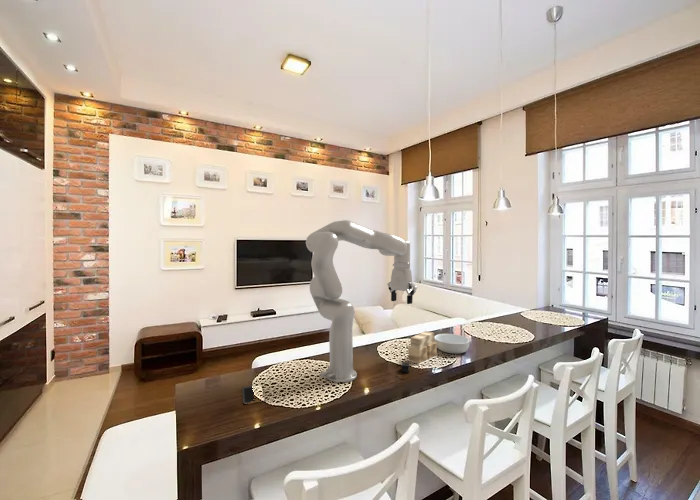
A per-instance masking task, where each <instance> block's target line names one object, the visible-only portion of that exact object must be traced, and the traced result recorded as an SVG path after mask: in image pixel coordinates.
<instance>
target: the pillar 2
mask: <svg viewBox="0 0 700 500" xmlns="http://www.w3.org/2000/svg"><path fill="white" fill-rule="evenodd" d="M426 347H427V358H429V359H428V360H431V359H430V358H432V357H434V358H436V357H438V356H437V355H438V353H437V351H438V350H437V349H438V348H437V343H435V342H434V343H432V344H430V345H428V346H426ZM435 356H436V357H435ZM432 359H433V358H432Z"/></svg>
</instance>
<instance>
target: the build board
mask: <svg viewBox="0 0 700 500" xmlns="http://www.w3.org/2000/svg"><path fill="white" fill-rule="evenodd" d="M438 356H439V355H438V354H437V356H435V357H432V358H430V359H429V358H427V360H426V361H424V362H422V363H417V362H414V361H411V360H409V358H408V359H407V361H409V362H412V363H415V364H418V365H421V364H423V363H425V362H429V360H432V359H435V358H437V357H438Z"/></svg>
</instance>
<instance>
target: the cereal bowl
mask: <svg viewBox="0 0 700 500" xmlns="http://www.w3.org/2000/svg"><path fill="white" fill-rule="evenodd" d="M434 342H435V343H437V349H438V350H439V351H441V352H442V353H447V354H455V355H457V354H463V353H466V352H467V351H468V350H469V347H470V339H469V338H468V337H466V336H464V335H460V334H454V333H439V334H436V335H434Z"/></svg>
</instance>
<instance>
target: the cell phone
mask: <svg viewBox="0 0 700 500" xmlns="http://www.w3.org/2000/svg"><path fill="white" fill-rule="evenodd" d="M252 386H253V385H247V386H243V387H241V388H242V389H241V392H242V396H243V397H242V396H241V397H242V404H243V403H247V404H248V403H250V402H251V401H255V400H253V399H256V398H254V396H253V395H254V392H253V390H252V389H253V388H252Z"/></svg>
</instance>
